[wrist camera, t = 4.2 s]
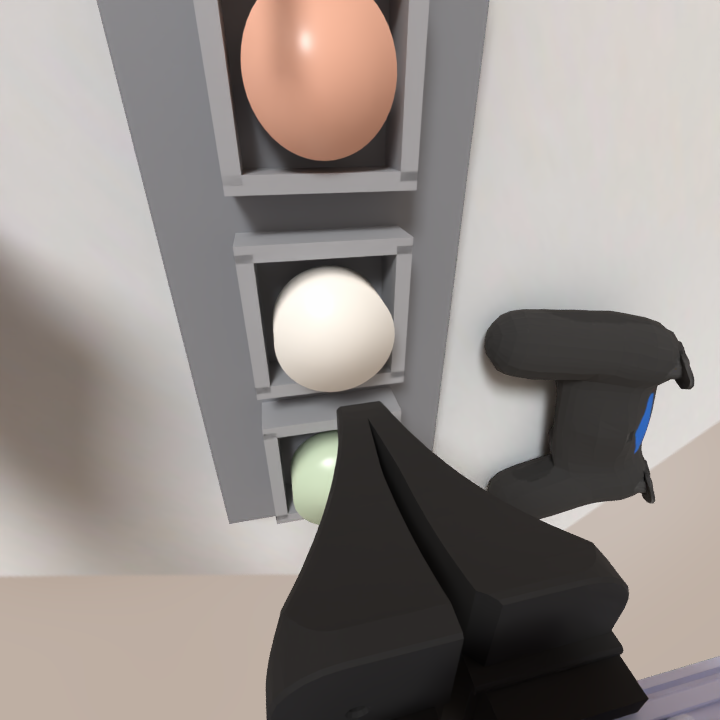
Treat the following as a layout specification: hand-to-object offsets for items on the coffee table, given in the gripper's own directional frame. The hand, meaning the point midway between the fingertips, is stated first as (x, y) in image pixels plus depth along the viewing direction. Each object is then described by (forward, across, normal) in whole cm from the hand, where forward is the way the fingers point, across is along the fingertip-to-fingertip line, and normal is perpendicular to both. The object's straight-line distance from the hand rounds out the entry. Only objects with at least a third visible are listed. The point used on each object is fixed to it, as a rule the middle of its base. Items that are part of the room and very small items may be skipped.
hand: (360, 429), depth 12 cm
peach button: (+6, 0, -9) cm, 11 cm away
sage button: (+5, 0, +7) cm, 9 cm away
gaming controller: (+10, -15, +8) cm, 20 cm away
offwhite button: (+5, 0, -1) cm, 6 cm away
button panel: (+10, 0, -1) cm, 10 cm away
